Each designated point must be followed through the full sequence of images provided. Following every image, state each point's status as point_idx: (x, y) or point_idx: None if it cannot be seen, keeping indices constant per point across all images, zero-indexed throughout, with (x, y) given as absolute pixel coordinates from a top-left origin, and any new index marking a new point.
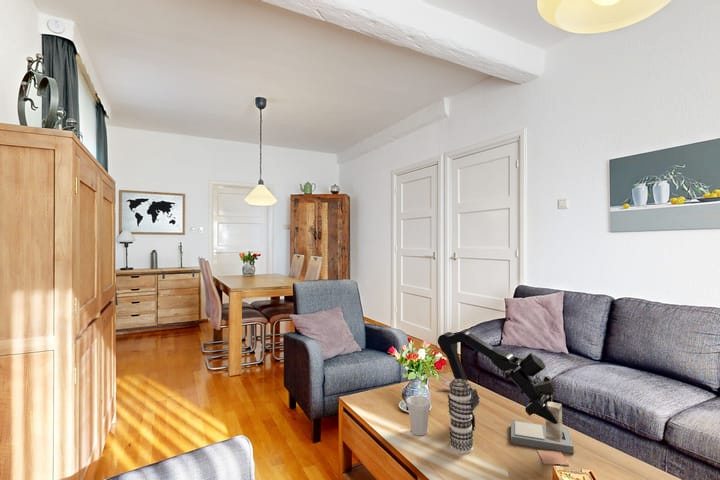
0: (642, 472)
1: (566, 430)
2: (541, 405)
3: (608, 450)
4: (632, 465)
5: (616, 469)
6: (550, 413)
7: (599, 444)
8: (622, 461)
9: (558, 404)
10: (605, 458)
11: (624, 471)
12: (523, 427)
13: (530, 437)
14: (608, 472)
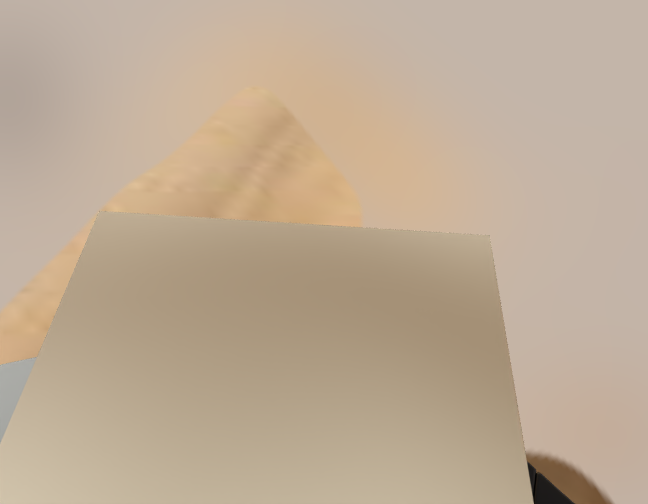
0: (274, 100)
1: (9, 378)
2: None
3: (143, 189)
4: (237, 122)
5: (301, 164)
6: (537, 490)
7: (92, 222)
8: (222, 147)
9: (153, 290)
10: (227, 198)
11: (300, 143)
12: None
13: None
14: (344, 187)
